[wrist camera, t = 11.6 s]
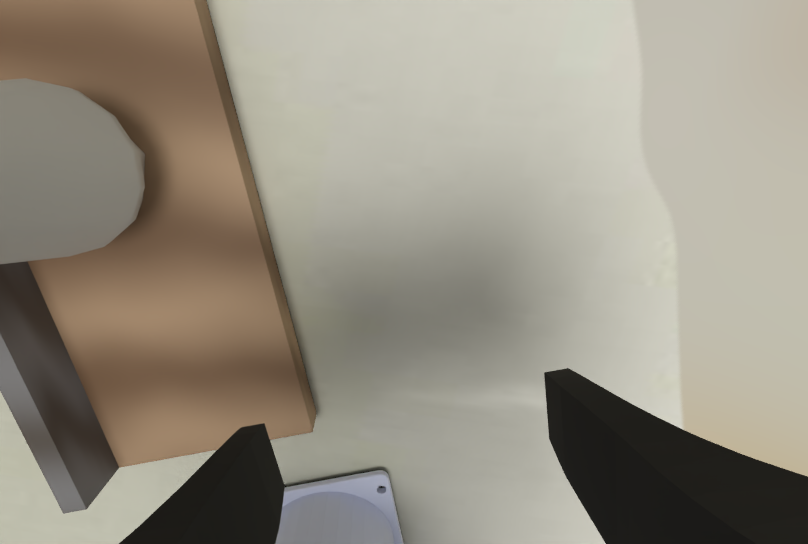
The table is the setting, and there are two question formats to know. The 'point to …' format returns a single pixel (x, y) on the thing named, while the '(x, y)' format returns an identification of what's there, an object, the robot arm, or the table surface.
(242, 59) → the table surface
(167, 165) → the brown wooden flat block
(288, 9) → the table surface
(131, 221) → the salt shaker
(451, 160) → the table surface
